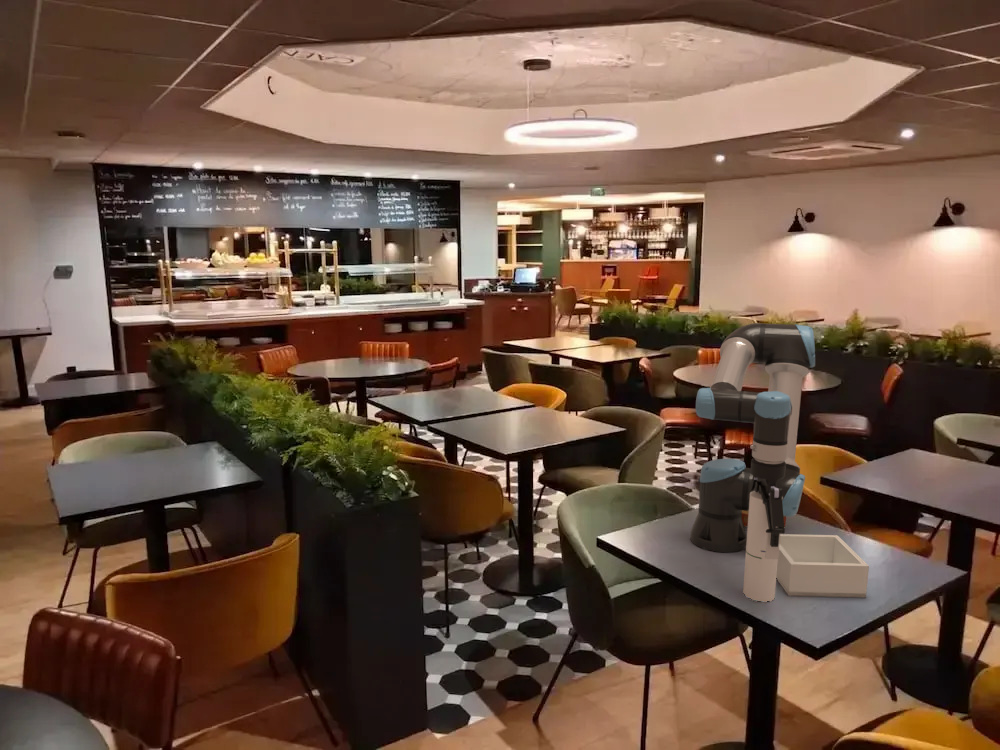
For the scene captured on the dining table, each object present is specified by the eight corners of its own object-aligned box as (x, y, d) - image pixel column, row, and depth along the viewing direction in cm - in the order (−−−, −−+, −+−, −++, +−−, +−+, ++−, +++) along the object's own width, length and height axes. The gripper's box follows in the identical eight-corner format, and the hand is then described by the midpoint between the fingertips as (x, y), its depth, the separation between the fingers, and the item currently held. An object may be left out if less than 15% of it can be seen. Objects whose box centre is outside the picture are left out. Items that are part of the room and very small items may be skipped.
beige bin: (765, 562, 189) (767, 533, 188) (834, 564, 188) (837, 535, 187) (788, 595, 172) (791, 564, 170) (865, 597, 171) (869, 566, 169)
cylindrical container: (777, 603, 168) (785, 501, 163) (745, 600, 169) (752, 499, 165) (772, 589, 175) (779, 491, 170) (741, 586, 176) (748, 489, 172)
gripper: (737, 444, 178) (732, 525, 182) (769, 476, 154) (762, 569, 158) (768, 444, 178) (762, 526, 182) (805, 476, 153) (797, 570, 157)
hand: (762, 546), depth 170 cm, fingers open, 13 cm apart
